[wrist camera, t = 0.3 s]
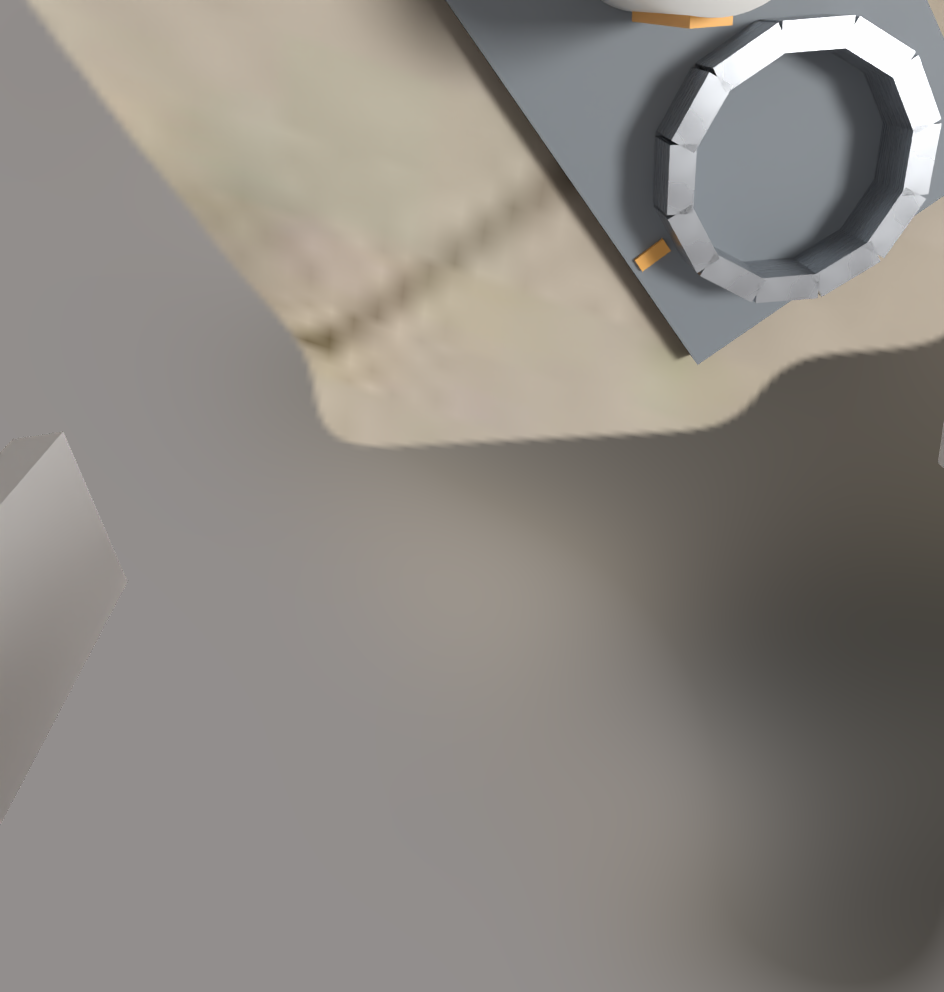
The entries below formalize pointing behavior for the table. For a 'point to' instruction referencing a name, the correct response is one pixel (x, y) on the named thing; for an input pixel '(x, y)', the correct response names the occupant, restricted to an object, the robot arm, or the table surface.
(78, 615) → the robot arm
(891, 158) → the duct collar
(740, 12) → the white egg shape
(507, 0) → the board
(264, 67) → the table surface
